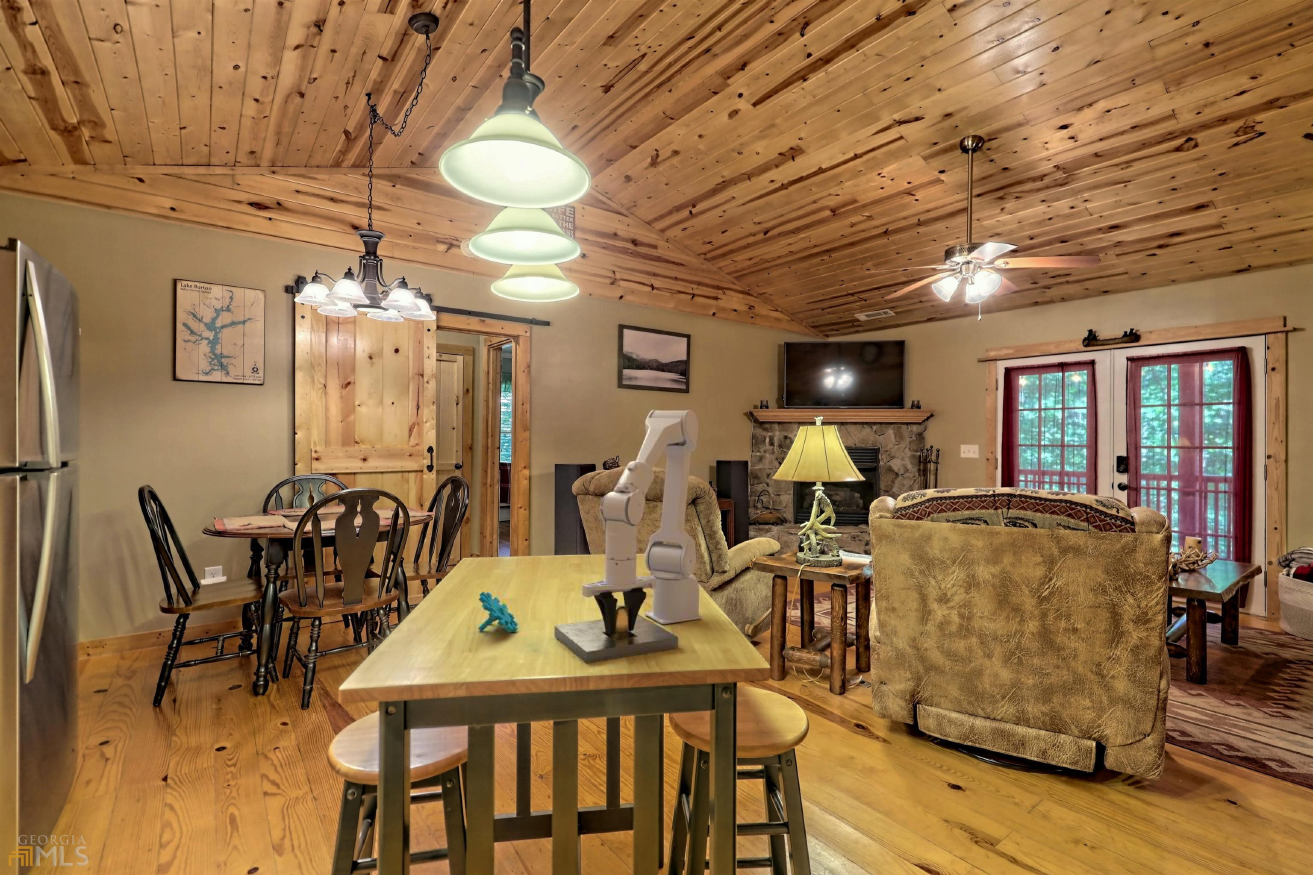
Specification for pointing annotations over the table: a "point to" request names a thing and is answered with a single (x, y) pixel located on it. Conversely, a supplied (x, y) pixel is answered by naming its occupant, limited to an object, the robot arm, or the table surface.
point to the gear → (497, 613)
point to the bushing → (621, 623)
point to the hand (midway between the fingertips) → (619, 630)
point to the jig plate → (597, 645)
